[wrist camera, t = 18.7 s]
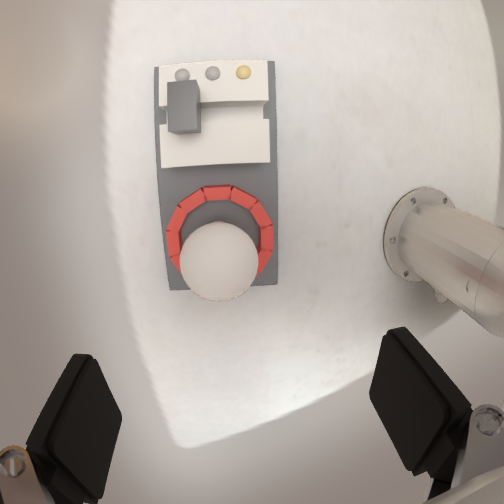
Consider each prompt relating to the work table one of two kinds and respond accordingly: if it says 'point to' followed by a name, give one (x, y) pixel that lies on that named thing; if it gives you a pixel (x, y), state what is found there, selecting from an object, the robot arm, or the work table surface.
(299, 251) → the work table surface
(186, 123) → the block
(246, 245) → the lightbulb
